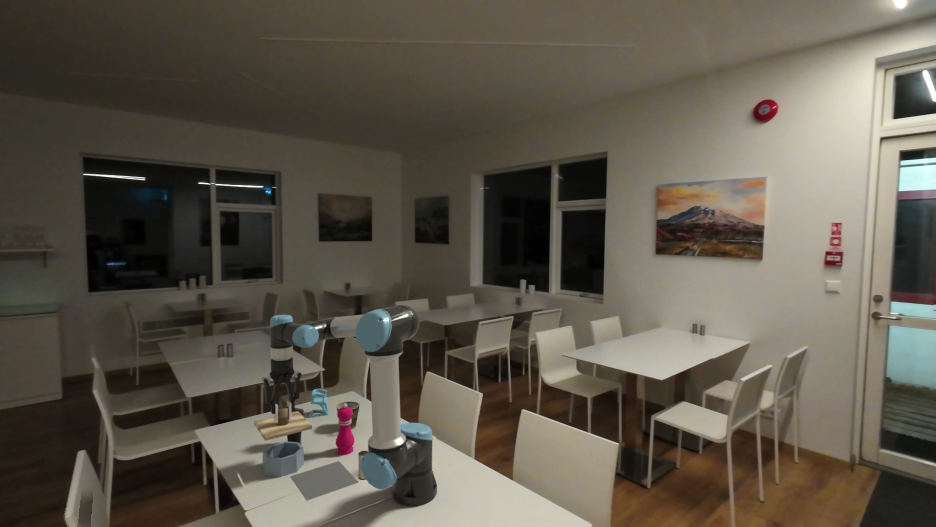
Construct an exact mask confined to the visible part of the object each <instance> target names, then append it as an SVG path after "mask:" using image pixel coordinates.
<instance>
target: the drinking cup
mask: <svg viewBox="0 0 936 527" xmlns="http://www.w3.org/2000/svg"><path fill="white" fill-rule="evenodd" d="M295 404H296V402H294V409H293V410H291V413H293V412H297V411H298V412H299V413H300V414H301V415H302V416H303V417H304V412H305V410H304V409H303V408H299V407H296V405H295ZM286 440H287V442H299V443H300V444H302V441H301V440H302V432H298V433H294V434H290V435H286Z"/></svg>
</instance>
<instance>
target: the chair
mask: <svg viewBox="0 0 936 527" xmlns="http://www.w3.org/2000/svg"><path fill="white" fill-rule="evenodd" d="M323 392H324V393H323ZM327 392H328V390H327V389H323V388H314V389H313V390H312V391H311V397H312V400H311V402H310V404H311V405H318V406H320V407H321V409H317V408H314V409H313V408H312V409H311V411H310V413H309V415H308V417H309V418H317V417H322V416H328V415H329V414H330V410H329V408H328V404H327V400H328V396H327ZM321 396H322V397H321ZM314 411H315V414H313V413H314ZM317 412H318V413H317ZM322 412H323V413H322Z"/></svg>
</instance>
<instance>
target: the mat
mask: <svg viewBox="0 0 936 527" xmlns="http://www.w3.org/2000/svg"><path fill="white" fill-rule="evenodd" d="M289 478H290V479H291V480H292V481H293V483H294V485H295V486H296V488H298V490H299V491H300V493H301V494H302V496H303V497H304V499H305V500H306V501H311V500H313V499H315V498H318V497H322V496H324V495H327V494H330V493H333V492H336V491H338V490H341V489H345V488H347V487H350V486H353V485H355V484H358V483H359V481H358V480H357V479H356V477H355V476H354V475H353V474H352V473H351V472H350V471H349V470H348V469H347V468H346V467H345V466H344V465H343V464H342V463H341V461H340V460H337V461H335V462H331V463H329V464H325V465H321V466H318V467H315V468H313V469H310V470H306V471H303V472H299V473H295V474H293V475H291V476H289Z"/></svg>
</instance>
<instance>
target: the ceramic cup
mask: <svg viewBox="0 0 936 527" xmlns="http://www.w3.org/2000/svg"><path fill="white" fill-rule="evenodd" d="M345 403H346V404H347V407H350V408H351V409H352V411H353V415H352V417H351V419H352V420H351V421H352V422H351V424H350V428H351V430H354V429H355V428H356V426H357V421H358V416H359V411H360V403H359V402H357V401H353V400H350V401H349V400H348V401H343V402H340V403H338V404H337V405H336V412H338V410H339V409H340V408H342V407H343V404H345Z"/></svg>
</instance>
